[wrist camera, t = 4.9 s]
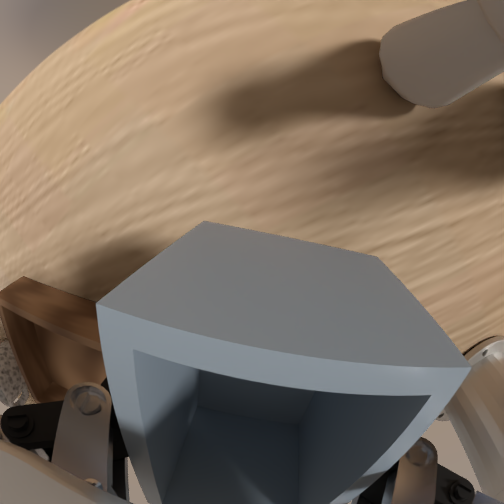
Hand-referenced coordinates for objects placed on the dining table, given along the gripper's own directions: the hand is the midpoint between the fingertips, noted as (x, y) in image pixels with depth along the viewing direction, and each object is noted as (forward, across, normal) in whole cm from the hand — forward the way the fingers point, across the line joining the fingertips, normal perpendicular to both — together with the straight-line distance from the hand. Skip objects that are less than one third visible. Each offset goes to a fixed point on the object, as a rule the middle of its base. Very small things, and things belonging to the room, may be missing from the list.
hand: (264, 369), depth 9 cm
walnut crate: (+9, +15, +13) cm, 22 cm away
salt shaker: (+10, -6, -16) cm, 20 cm away
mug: (+9, +31, +22) cm, 39 cm away
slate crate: (+1, 0, 0) cm, 1 cm away
